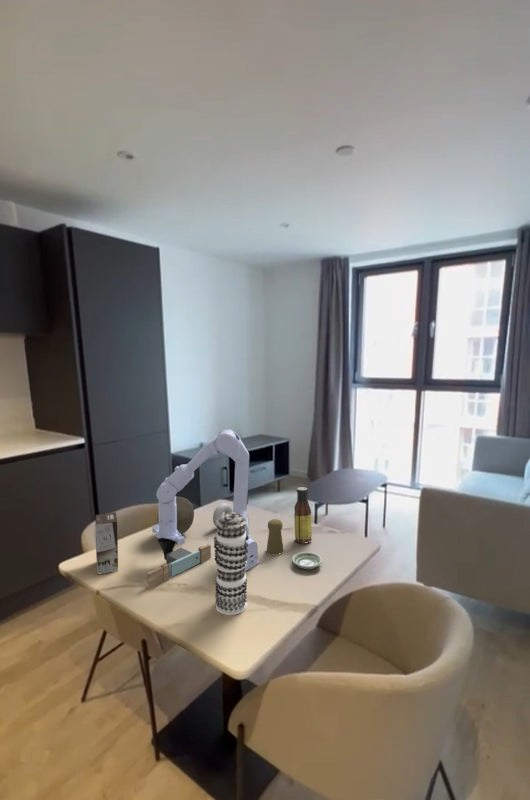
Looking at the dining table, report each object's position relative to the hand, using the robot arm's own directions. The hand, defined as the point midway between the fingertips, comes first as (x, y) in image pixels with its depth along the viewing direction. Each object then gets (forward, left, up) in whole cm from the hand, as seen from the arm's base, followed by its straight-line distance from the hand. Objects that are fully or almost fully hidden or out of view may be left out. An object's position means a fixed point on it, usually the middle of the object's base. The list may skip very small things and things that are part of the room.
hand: (168, 558), depth 126 cm
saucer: (-35, -29, -2) cm, 45 cm away
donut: (+7, -32, -2) cm, 32 cm away
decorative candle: (-31, +2, -2) cm, 31 cm away
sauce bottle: (-24, -43, -2) cm, 49 cm away
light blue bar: (-8, -1, -2) cm, 8 cm away
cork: (-21, -30, -2) cm, 36 cm away
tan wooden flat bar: (-7, -1, -2) cm, 7 cm away
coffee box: (+14, +13, -2) cm, 19 cm away
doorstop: (-4, -2, -2) cm, 4 cm away
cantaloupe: (+15, -15, -2) cm, 21 cm away
